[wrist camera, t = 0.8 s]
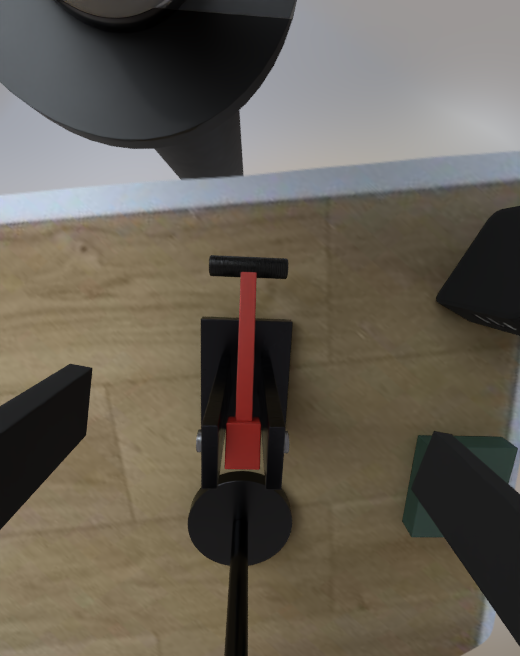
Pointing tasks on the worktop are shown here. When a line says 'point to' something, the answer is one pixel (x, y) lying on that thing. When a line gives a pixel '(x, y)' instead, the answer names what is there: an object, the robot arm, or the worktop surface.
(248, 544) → the desk lamp
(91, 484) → the worktop surface
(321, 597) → the worktop surface
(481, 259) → the electronic device
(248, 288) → the switch lever
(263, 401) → the stand
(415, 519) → the timer box
